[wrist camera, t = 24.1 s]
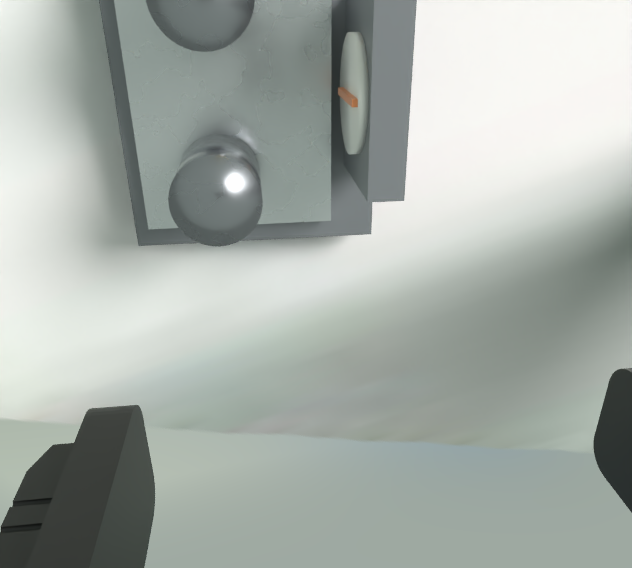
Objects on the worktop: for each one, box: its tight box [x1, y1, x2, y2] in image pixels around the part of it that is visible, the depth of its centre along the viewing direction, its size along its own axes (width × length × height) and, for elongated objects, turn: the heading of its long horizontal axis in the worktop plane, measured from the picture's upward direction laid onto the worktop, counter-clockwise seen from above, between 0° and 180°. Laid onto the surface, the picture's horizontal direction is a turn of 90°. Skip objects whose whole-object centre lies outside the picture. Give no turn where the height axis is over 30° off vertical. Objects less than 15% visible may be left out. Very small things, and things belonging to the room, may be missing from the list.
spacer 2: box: [168, 134, 263, 246], centre depth 33 cm, size 5×5×6 cm
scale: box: [99, 0, 417, 246], centre depth 32 cm, size 16×20×11 cm
